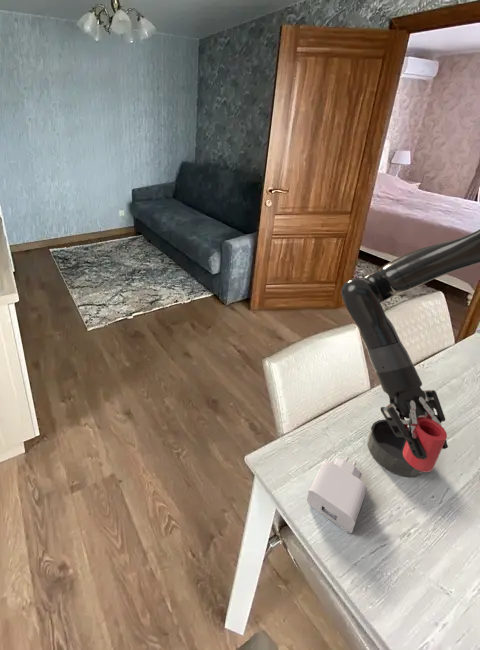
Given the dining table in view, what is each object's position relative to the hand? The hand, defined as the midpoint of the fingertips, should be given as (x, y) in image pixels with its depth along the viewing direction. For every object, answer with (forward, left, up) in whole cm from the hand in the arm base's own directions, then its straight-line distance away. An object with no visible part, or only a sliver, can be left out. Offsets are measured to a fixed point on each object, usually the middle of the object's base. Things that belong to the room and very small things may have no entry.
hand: (432, 452), depth 69 cm
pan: (-1, -12, -16) cm, 20 cm away
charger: (+15, 0, -16) cm, 22 cm away
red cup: (+1, -2, -4) cm, 5 cm away
